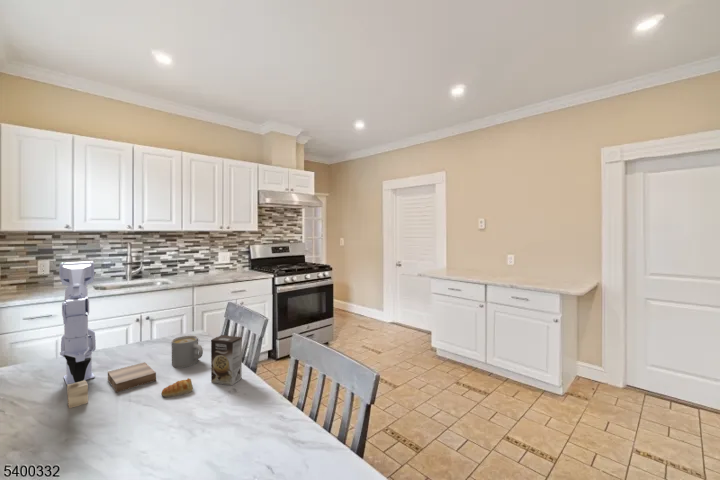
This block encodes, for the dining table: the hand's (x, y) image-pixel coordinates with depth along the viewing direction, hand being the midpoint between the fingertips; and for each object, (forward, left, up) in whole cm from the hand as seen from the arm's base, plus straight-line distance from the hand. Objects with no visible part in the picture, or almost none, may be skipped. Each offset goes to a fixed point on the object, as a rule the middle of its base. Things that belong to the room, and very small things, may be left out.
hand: (77, 377), depth 104 cm
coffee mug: (-7, +36, -9) cm, 38 cm away
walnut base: (-6, +16, -8) cm, 19 cm away
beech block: (0, 0, -8) cm, 8 cm away
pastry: (+16, +25, -9) cm, 31 cm away
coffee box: (+20, +40, -9) cm, 45 cm away
